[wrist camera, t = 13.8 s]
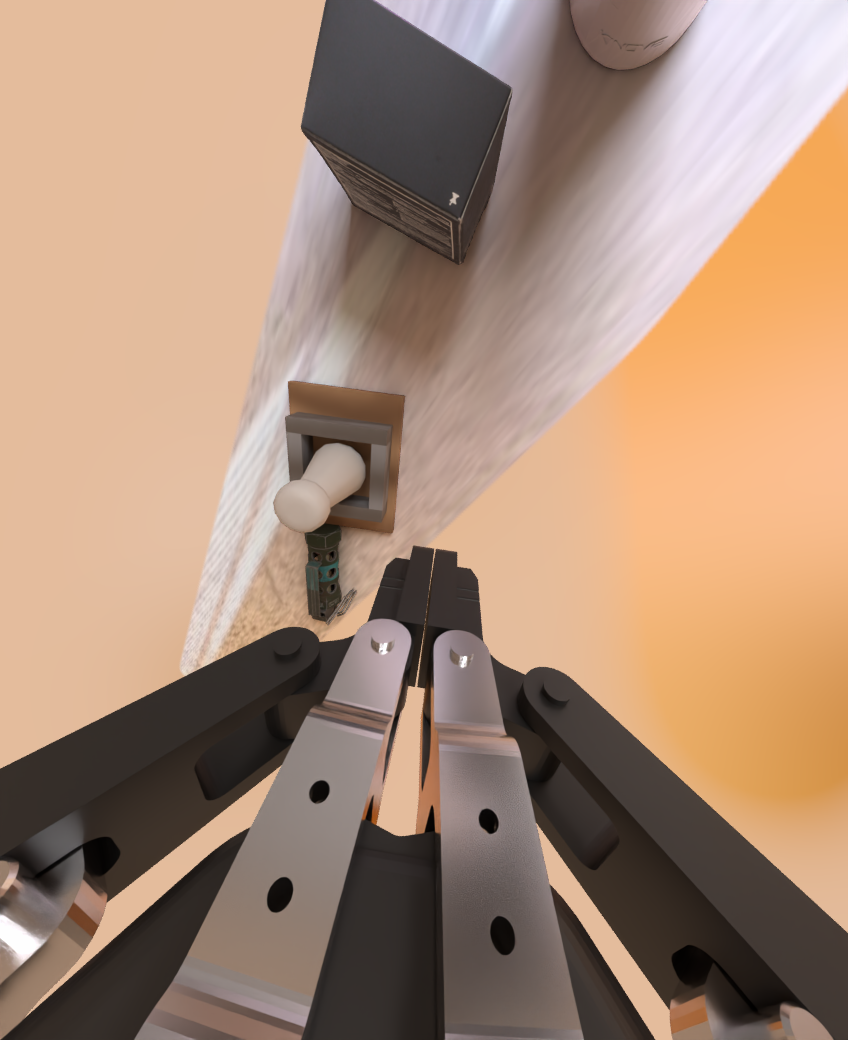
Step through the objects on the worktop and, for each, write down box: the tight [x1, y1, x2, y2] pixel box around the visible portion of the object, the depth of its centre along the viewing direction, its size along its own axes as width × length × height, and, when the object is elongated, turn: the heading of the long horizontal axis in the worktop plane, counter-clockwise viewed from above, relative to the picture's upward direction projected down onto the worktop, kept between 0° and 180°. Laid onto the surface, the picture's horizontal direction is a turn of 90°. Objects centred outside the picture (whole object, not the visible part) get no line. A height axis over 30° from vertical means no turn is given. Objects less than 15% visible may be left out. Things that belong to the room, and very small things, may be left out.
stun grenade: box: [305, 523, 357, 625], centre depth 43 cm, size 6×6×14 cm
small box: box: [301, 0, 512, 265], centre depth 23 cm, size 11×6×10 cm, turn 65°
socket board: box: [285, 381, 405, 533], centre depth 37 cm, size 16×12×4 cm
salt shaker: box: [273, 443, 366, 533], centre depth 32 cm, size 6×6×13 cm
